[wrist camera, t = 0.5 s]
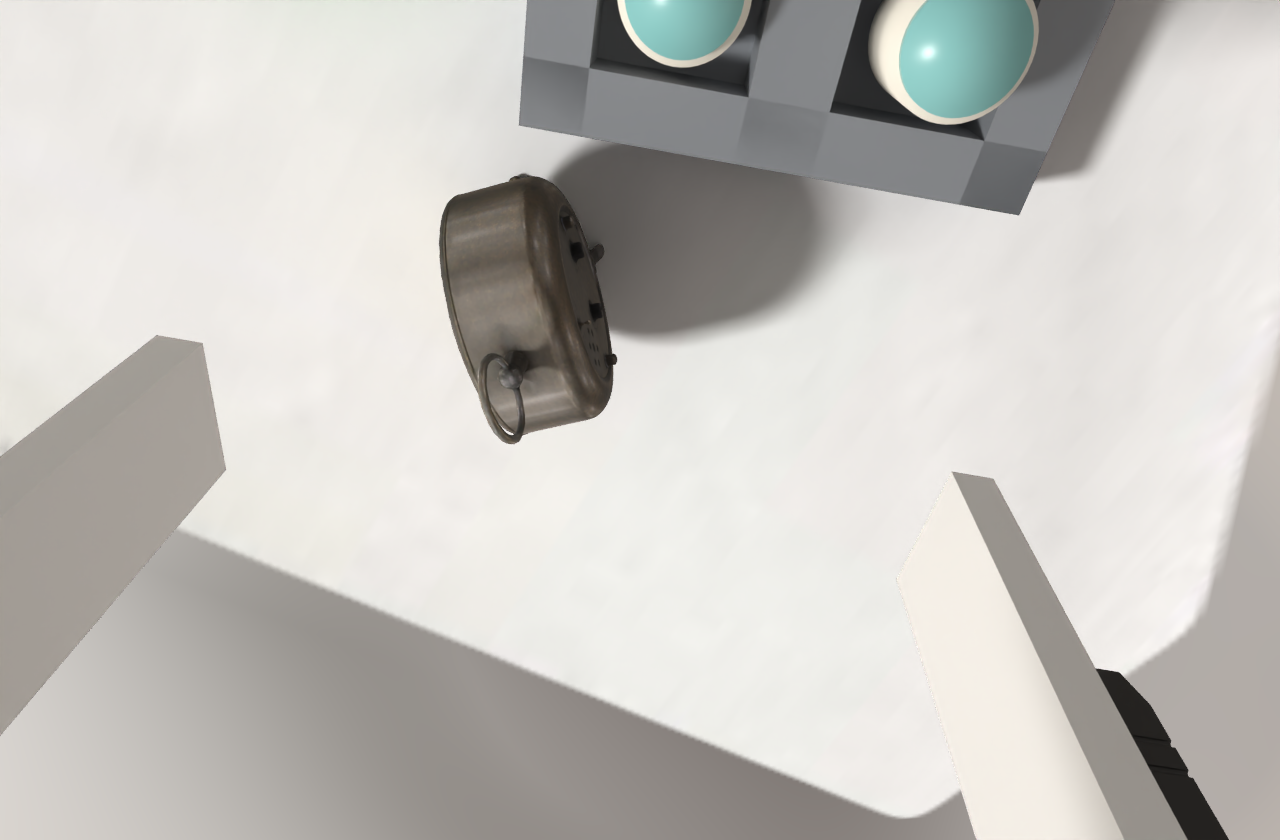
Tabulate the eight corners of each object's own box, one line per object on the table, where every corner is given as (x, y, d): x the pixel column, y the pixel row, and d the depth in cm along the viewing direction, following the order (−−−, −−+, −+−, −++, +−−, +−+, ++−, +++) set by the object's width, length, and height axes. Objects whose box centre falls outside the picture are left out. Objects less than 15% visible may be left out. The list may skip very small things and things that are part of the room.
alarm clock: (476, 162, 37) (350, 297, 23) (581, 135, 36) (514, 259, 22) (546, 355, 42) (478, 554, 29) (638, 336, 41) (613, 533, 28)
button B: (892, -49, 28) (923, -46, 24) (1020, -24, 28) (1069, -18, 25) (851, 92, 31) (873, 113, 27) (968, 113, 31) (1005, 138, 27)
